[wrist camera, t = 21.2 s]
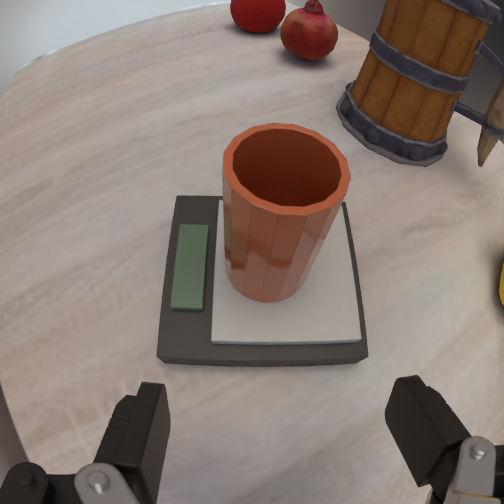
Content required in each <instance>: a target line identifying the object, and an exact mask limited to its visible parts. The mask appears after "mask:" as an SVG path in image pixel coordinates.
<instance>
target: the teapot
mask: <svg viewBox="0 0 504 504" xmlns="http://www.w3.org/2000/svg"><path fill="white" fill-rule="evenodd" d="M499 291H500V299H501V302H502V304H503V306H504V263H503V267H502V272H501V279H500V288H499Z"/></svg>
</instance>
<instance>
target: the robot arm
mask: <svg viewBox="0 0 504 504" xmlns="http://www.w3.org/2000/svg"><path fill="white" fill-rule="evenodd" d="M385 421H386V424H387V426H388V428H389V430H390V432H391V434H392V436H393V438H394V440H395V442H396V444H397V446H398V447H399V449H400V451H401V453H402V455H403V457H404V459H405V461H406V463H407V465H408V467H409V469H410V472H411V474H412V476H413V478H414V480H415V482H416V484H417V486H418V487H421V486H424V485H427V484H430V485H431V487H432V488H431V490H430V491H429V493H428V497H427V500H426V503H425V504H504V445H498V446H494V445H493V444H492V443H491V442H490V441H489V440H487V439H486V438H483V437H479V436H473V437H472V436H471V435H470V434H469V432H468V431H467V429H466V428H465V427H464V425H463V424H462V423H461V421H460V420H459V418H458V417H457V416H456V414H455V413H454V412H453V411H452V409H451V408H450V406H449V405H448V404H446V401H445V400H444V398H443V397H442V396H441V395H440V393H438V392H437V391H435V390H434V389H433V388H431V387H430V386H426V385H425V384H424V382H423V381H422V380H421V378H420V377H419V376H417V375H414V376H407V377H400V378H398V379H397V380H396V381H395V383H394V386H393V389H392V392H391V395H390V398H389V401H388V403H387V406H386V409H385ZM169 433H170V412H169V406H168V400H167V393H166V387H165V384H160V383H149V382H142V383H141V385H140V388H139V390H138V393H137V396H132V395H126V396H125V397H124V398H123V399H122V400H121V401H120V402H118V403H117V405H116V407H115V409H114V412H113V414H112V418H111V419H110V421H109V424H108V427H107V429H106V431H105V434H104V436H103V439H102V441H101V444H100V446H99V449H98V451H97V454H96V457H95V459H94V461H93V463H92V464H88V465H86V466H84V467H82V468H81V469H80V470H79V471H78V472H77V473H76V474H69V475H54V474H46V472H45V471H44V470H43V468H42V467H40V466H39V465H37V464H35V463H31V462H23V463H19V464H17V465H15V466H13V467H12V468H11V469H10V470H9V471H8V474H7V475H6V477H5V480H4V482H3V484H2V487H1V488H0V504H156V501H157V496H158V490H159V485H160V479H161V474H162V469H163V463H164V458H165V453H166V448H167V443H168V438H169Z"/></svg>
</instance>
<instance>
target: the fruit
mask: <svg viewBox="0 0 504 504" xmlns="http://www.w3.org/2000/svg"><path fill="white" fill-rule="evenodd" d="M280 36H281V40H282V42H283V45H284V47H286V48H287V49H288V50H289V51H290V52H291V53H293V54H295V55H296V56H298V57H300V58H302V59H304V60H311V61H312V60H317V59H320V58H322V57H324V56H326V55H328V54H329V53H330V52H331V51H332V50H333V49H334V47H335V44H336V42H337V39H338V30H337V27H336V25H335V23H334V21H333V20H332V19H331V18H330V17H329V16H328V15H327V14H325V13H324V12H323V8H322V5H321V4H320V2H319V1H318V0H309V1H308V2H307V3H306V5H305V7H304V8H299V9H296V10H294V11H292V12H291V13H289V14H288V15H287V17H286V18H285V20H284V22H283V25H282V27H281V33H280Z"/></svg>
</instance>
